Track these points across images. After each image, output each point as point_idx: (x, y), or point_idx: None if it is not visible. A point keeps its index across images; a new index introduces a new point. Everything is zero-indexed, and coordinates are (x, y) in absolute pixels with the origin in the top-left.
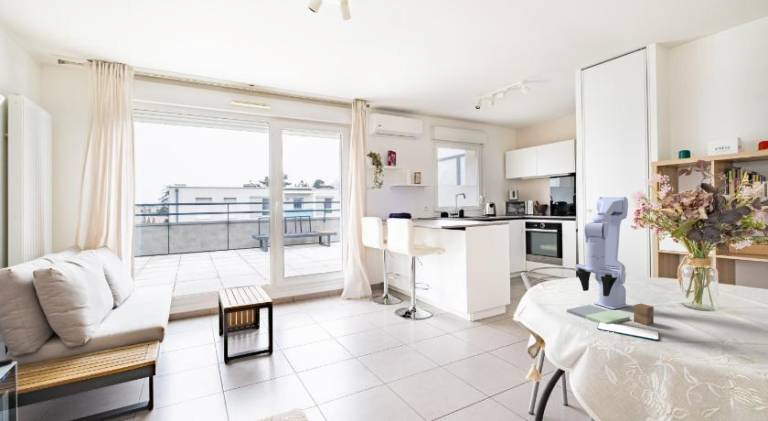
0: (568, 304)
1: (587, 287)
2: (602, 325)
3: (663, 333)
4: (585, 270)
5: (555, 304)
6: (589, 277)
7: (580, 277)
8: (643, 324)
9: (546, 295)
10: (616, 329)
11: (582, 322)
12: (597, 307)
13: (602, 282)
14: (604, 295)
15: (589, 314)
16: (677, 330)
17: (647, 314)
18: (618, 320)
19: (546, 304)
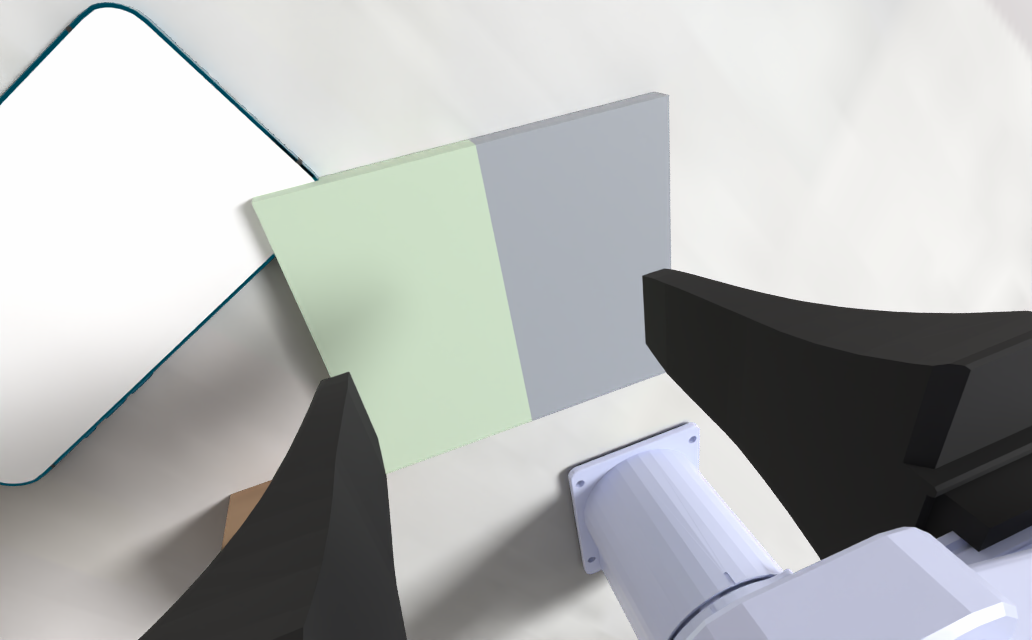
0: (769, 251)
1: (671, 352)
2: (213, 133)
3: (36, 513)
4: (959, 553)
5: (821, 143)
6: (780, 498)
7: (858, 327)
8: (252, 488)
9: (962, 226)
10: (72, 188)
11: (364, 6)
12: (608, 385)
13: (321, 530)
14: (332, 382)
15: (491, 210)
16: (120, 612)
17: None
18: (327, 364)
19: (862, 57)
